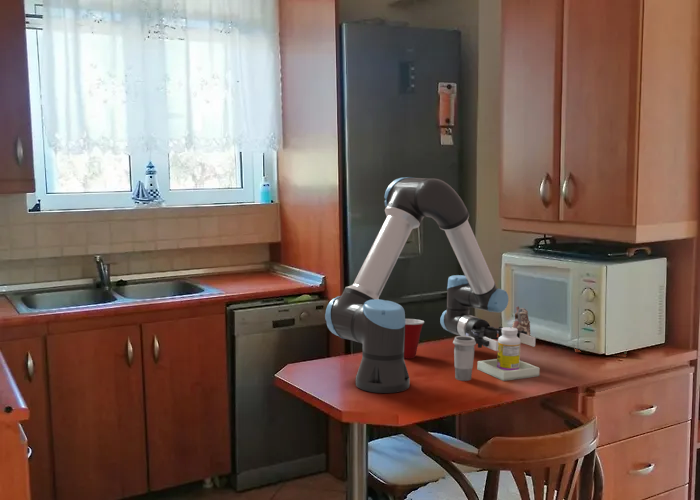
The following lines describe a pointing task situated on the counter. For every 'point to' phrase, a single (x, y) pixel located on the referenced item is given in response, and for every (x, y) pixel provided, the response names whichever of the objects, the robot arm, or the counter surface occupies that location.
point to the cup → (463, 357)
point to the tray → (522, 372)
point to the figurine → (522, 320)
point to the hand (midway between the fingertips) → (516, 344)
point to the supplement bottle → (508, 350)
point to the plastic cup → (412, 337)
